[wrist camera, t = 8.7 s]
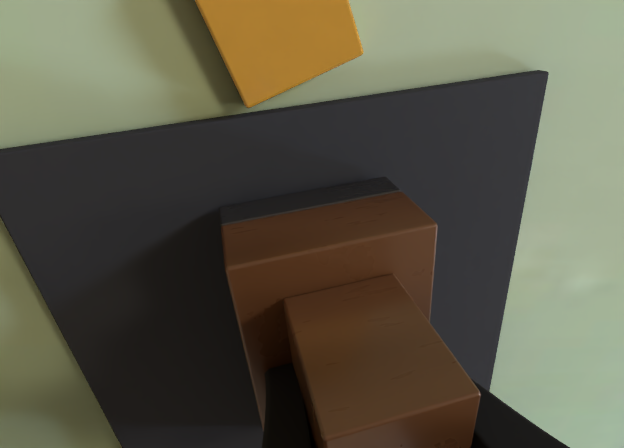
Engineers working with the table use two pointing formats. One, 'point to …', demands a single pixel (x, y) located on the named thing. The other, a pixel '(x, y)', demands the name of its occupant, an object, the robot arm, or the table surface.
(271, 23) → the mustard square tile
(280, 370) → the robot arm
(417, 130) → the mat
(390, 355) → the brown stepped block
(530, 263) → the table surface
